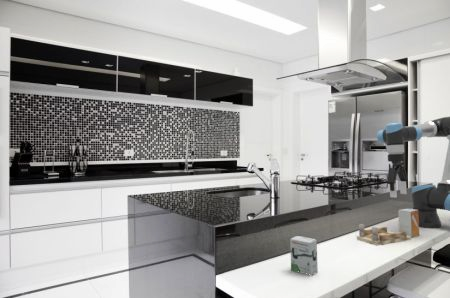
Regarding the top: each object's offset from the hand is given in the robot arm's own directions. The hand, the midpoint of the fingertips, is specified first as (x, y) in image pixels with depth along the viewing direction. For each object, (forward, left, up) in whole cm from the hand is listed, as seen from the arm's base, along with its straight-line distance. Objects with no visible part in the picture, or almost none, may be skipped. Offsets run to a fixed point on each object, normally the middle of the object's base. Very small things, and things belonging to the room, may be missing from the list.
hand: (398, 195), depth 156 cm
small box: (-7, -1, -21) cm, 22 cm away
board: (+11, -1, -21) cm, 23 cm away
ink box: (+70, +18, -21) cm, 76 cm away
